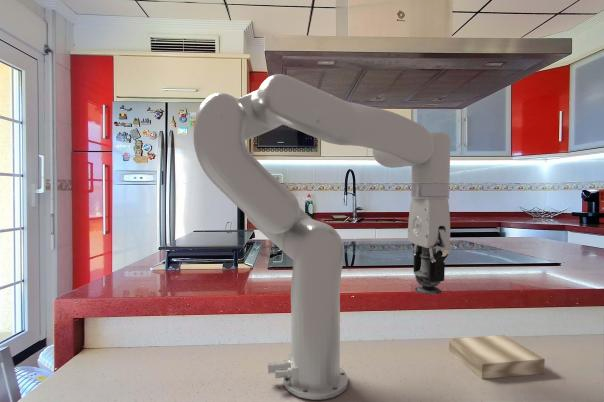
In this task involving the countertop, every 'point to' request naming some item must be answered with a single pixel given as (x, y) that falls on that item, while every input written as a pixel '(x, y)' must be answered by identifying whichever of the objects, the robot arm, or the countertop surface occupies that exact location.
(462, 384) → the countertop surface
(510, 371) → the birch base block
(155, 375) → the countertop surface
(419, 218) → the robot arm
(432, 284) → the weathered stone finial
